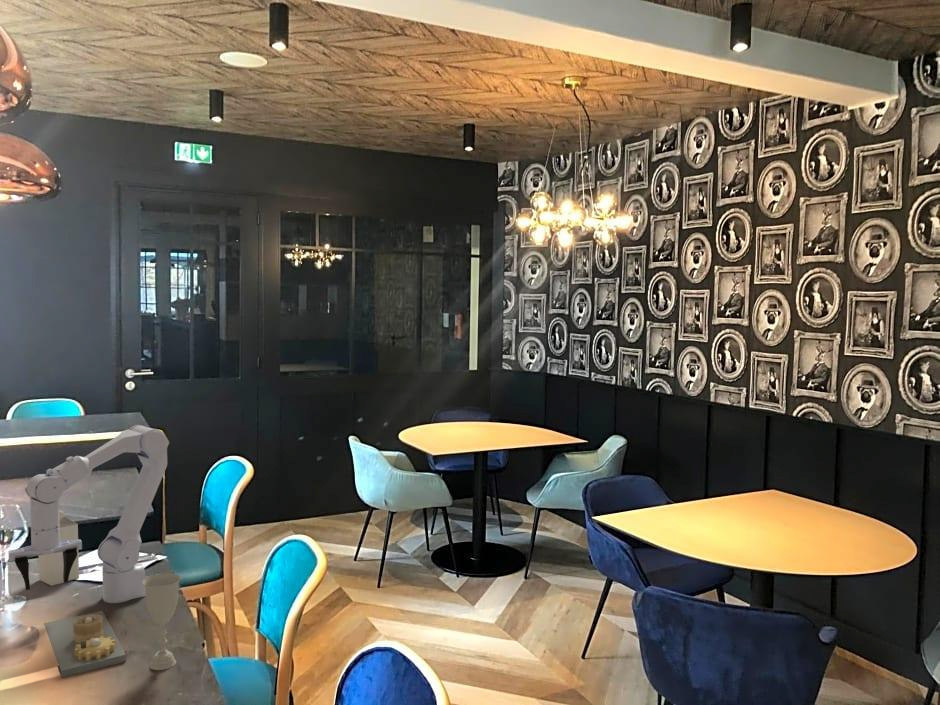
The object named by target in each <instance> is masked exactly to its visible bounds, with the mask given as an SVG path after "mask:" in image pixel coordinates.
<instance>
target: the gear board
mask: <svg viewBox="0 0 940 705" xmlns="http://www.w3.org/2000/svg"><path fill="white" fill-rule="evenodd" d="M86 615H101V616H102V617H103V636H100V638H94V637H93V638H90V640H87V641H85V640H83V641H81V644H78V643H75V641H74V625H73V622H74V621H75V620H76V619H77V618H80V617H82V616H86ZM88 622H92V618H91V617H87V618H86V619H85V623H88ZM44 628H45V629H46V632H47V635H48V638H49V640H50V643H51V646H52V649H53V652H54V654H55V658H56V660H57V663H58V665H57V669H58V672H59V676H60V678H63V679H64V678H67V677H70V676H75V675H78V674H82V673H86V672H90V671H93V670H98V669H101V668H106V667H110V666H112V665H117V664H122V663H125V662H127V654H126V651H125V650H124V648H123V646H122V644H121V642H120V641H119V639H118V637H117V635H116V634H115V632H114V629H113V627H112V626H111V625H110V623H109V621H108V618H107V617H106V615H105V613H104V612H103V610H99V611H95V612H94V611H93V612H91V613H86V614H85V613H84V614H81V615H77V616H70V617H68V618H63V619H58V620H53V621H49V622H48V621H47V622H44Z"/></svg>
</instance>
